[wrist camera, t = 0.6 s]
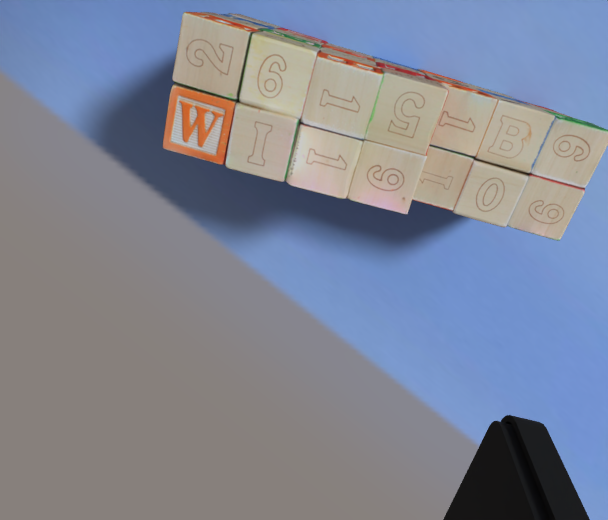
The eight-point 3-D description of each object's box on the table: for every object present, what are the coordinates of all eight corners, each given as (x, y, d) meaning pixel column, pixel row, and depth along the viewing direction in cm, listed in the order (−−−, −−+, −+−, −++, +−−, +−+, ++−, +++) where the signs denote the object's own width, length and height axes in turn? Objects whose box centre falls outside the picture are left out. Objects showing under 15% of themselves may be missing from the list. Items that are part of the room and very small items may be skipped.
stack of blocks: (552, 106, 35) (649, 146, 24) (512, 195, 38) (582, 269, 26) (234, 12, 34) (179, 8, 23) (215, 109, 37) (158, 149, 25)
